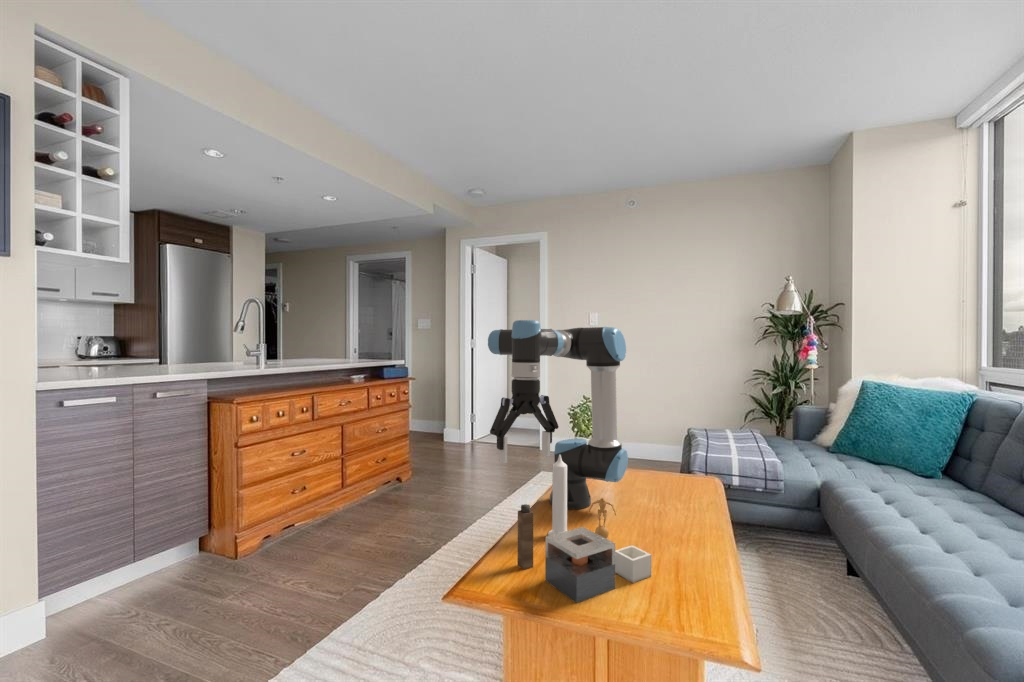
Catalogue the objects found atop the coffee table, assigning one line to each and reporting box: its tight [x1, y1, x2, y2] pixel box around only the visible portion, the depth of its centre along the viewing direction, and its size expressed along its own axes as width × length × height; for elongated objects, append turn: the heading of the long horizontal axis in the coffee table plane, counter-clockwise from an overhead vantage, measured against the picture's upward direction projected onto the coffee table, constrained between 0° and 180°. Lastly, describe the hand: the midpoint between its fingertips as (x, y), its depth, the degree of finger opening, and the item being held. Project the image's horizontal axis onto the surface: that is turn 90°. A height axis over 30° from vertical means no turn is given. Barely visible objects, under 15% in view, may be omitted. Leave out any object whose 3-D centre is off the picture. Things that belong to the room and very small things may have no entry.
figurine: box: [587, 497, 617, 539], centre depth 145 cm, size 8×6×12 cm
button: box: [572, 545, 588, 567], centre depth 117 cm, size 4×4×6 cm
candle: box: [547, 454, 568, 536], centre depth 147 cm, size 7×7×25 cm
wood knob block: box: [516, 504, 534, 571], centre depth 127 cm, size 3×3×16 cm
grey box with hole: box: [544, 526, 616, 604], centre depth 117 cm, size 12×12×11 cm
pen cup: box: [615, 544, 652, 584], centre depth 123 cm, size 7×7×6 cm
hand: (525, 458), depth 126 cm, fingers open, 13 cm apart
